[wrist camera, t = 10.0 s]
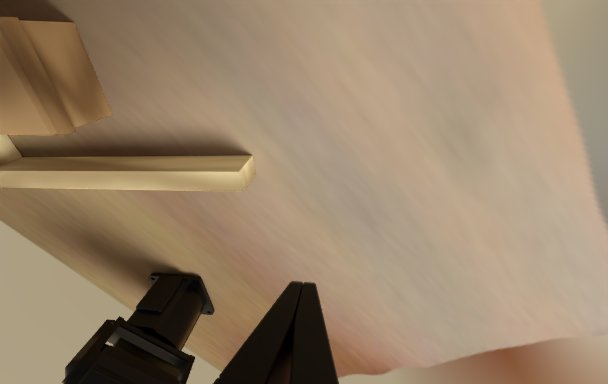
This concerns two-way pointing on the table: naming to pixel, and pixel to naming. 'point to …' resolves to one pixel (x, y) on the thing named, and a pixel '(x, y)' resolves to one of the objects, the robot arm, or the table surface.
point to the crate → (46, 79)
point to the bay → (125, 171)
